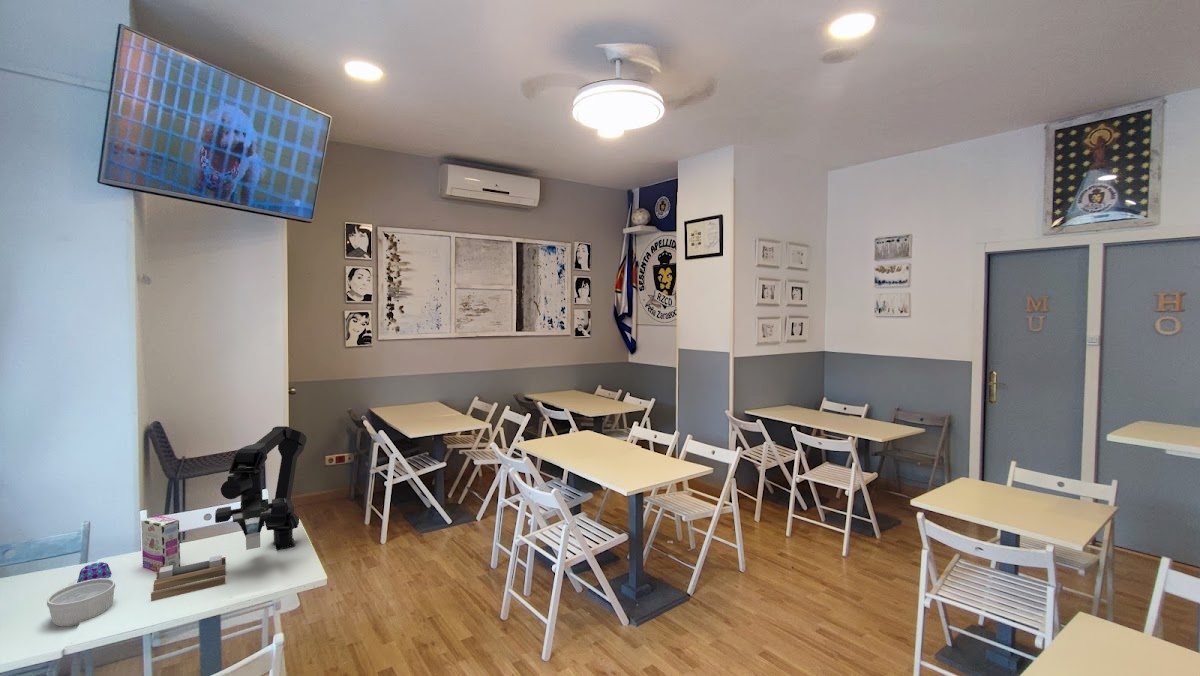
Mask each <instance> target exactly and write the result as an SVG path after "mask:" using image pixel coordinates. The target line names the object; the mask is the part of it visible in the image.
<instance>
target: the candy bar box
mask: <svg viewBox="0 0 1200 676" xmlns="http://www.w3.org/2000/svg"><path fill="white" fill-rule="evenodd" d="M140 522H141V545H142V546H141V549H142V568H143V569H146V570H148V571H152V572H155V573H157V571H160V568H161V567H166V566H171V565H173V568H176V567H181V549H180V547H181V546H180V543H181V542H180V520H179V519H175V518H170V517H168V516H167V517H166V516H164V515H163V516H162V515H159V514H158V515H154V516H151V517H150V516H149V517H147V518H145V519H141V520H140Z"/></svg>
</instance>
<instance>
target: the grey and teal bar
mask: <svg viewBox="0 0 1200 676" xmlns="http://www.w3.org/2000/svg"><path fill="white" fill-rule="evenodd" d="M245 521H246V520H245ZM258 522H259V518H256V519H252V520H247V521H246V527H247V535H246V537H245V550H246V551H248V550H253V549H257V548H261V532H258Z"/></svg>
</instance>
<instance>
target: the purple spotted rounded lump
mask: <svg viewBox="0 0 1200 676" xmlns="http://www.w3.org/2000/svg"><path fill="white" fill-rule="evenodd" d="M112 575H113V573H112V571H111V569H110V566H109V564H108V562H102V561H100V562H94V563H91V564H88V565H85V566H84V567H82V568H81V569H80V571H79V574H78V577H77V579H75V580H73V581H72V582H70V583H69V584H68V585H67V586H70V585H73V584H76V583H79V582H83V581H87V580H92V579H100V578H107V579H110V578H111V576H112Z"/></svg>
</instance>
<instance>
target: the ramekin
mask: <svg viewBox="0 0 1200 676" xmlns="http://www.w3.org/2000/svg"><path fill="white" fill-rule="evenodd" d="M115 588H116V582H115V580H114V579H112V578H100V579H92V580H87V581H83V582H79V583H76V584H73V585H70V586H68V585H67V586H64V587H63V588H61V589H60V588H59V589H58V590H56V591H55V592H53V593H51V595H50V596H48V598H47V599H46V606H47V608H48V609H49V613H50V618H51V621H52V622H53V624H54V625H57V626H59V627H62V626H63V627H65V628H66V627H73V625H75V626H79V625H80V623H81V622H82V621H85V620H90V619H92V618H95V617H97V616H99V615H101V614H103V613H105V612H107V611H108V610H109V609H110V608H111V607H112V606H113V602H114V593H115ZM78 624H79V625H78Z"/></svg>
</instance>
